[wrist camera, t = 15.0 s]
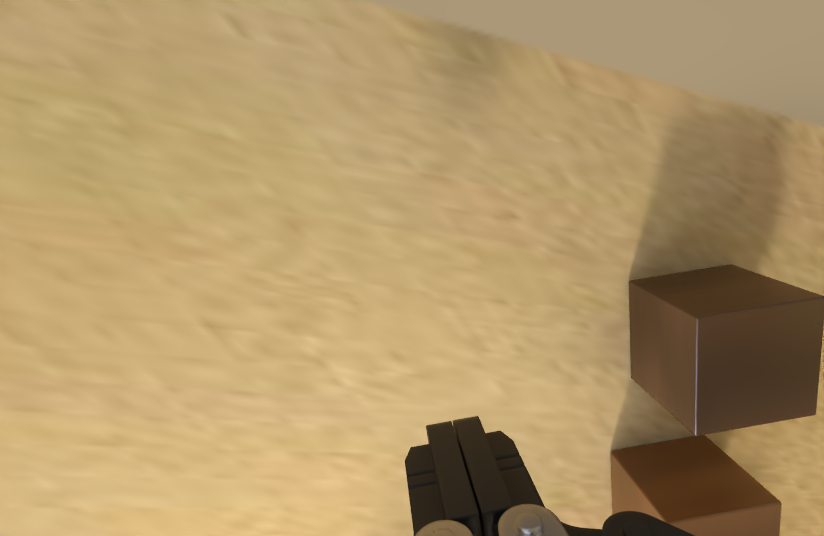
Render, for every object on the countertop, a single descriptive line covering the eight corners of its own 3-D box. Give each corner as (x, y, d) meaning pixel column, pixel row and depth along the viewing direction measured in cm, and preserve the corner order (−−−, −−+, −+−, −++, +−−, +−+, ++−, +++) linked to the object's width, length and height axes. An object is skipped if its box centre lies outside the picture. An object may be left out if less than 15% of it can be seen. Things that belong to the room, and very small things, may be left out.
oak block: (609, 450, 23) (666, 523, 18) (704, 433, 23) (782, 502, 19) (612, 531, 24) (666, 618, 20) (702, 514, 24) (776, 597, 20)
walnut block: (628, 280, 21) (697, 317, 16) (731, 263, 21) (827, 296, 17) (630, 378, 22) (695, 436, 18) (728, 361, 22) (816, 415, 18)
